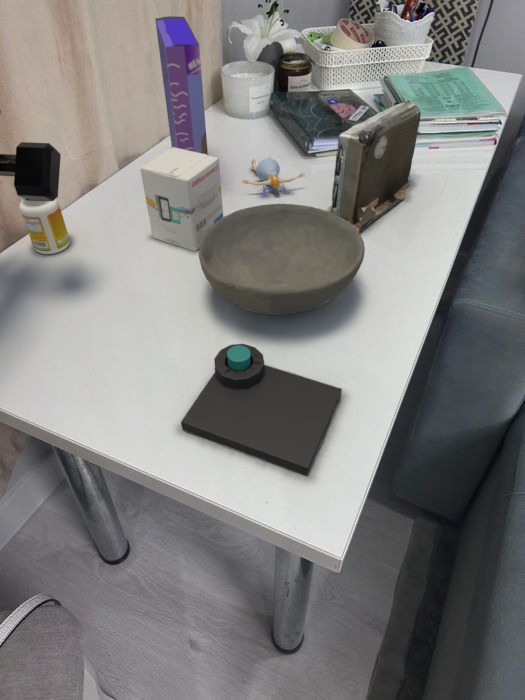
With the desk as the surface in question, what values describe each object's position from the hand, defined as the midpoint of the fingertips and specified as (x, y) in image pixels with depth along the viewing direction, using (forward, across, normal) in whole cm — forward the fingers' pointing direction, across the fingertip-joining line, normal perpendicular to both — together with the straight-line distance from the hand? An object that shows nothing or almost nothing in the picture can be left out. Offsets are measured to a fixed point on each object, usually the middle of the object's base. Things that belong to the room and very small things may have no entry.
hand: (17, 191), depth 69 cm
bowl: (+5, -36, +11) cm, 38 cm away
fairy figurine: (+28, -32, -12) cm, 43 cm away
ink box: (+15, -20, +1) cm, 25 cm away
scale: (-10, -36, +26) cm, 45 cm away
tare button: (-9, -32, +21) cm, 39 cm away
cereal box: (+28, -17, -12) cm, 35 cm away
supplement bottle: (+11, 0, +5) cm, 12 cm away
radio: (+24, -49, -8) cm, 56 cm away
